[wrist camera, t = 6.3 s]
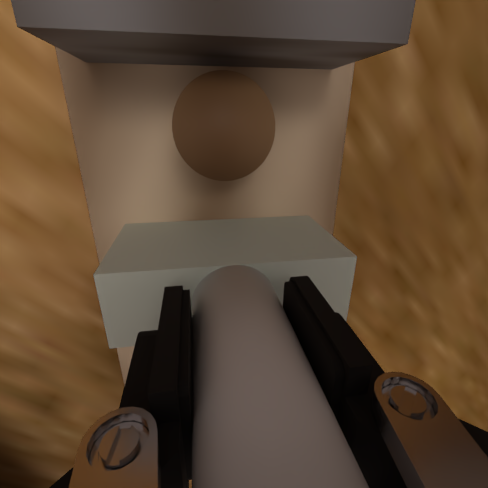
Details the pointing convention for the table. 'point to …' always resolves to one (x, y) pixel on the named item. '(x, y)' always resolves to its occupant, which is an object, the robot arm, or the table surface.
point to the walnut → (223, 125)
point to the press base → (186, 70)
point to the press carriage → (240, 342)
